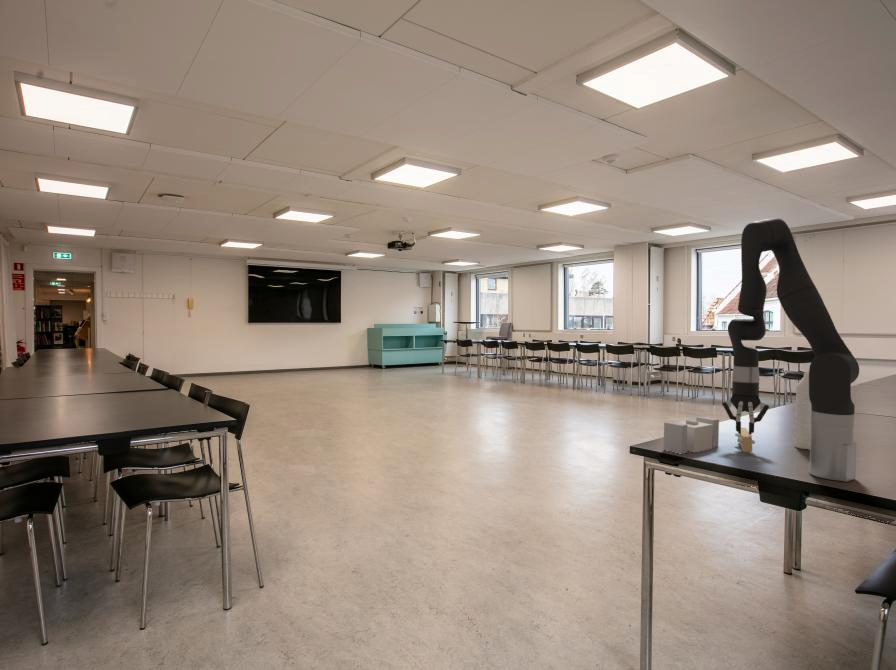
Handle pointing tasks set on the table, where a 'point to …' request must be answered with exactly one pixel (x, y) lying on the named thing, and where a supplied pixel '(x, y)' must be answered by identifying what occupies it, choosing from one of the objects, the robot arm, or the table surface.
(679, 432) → the notched grey block
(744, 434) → the tan wooden bar
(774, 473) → the table surface
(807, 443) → the water bottle
